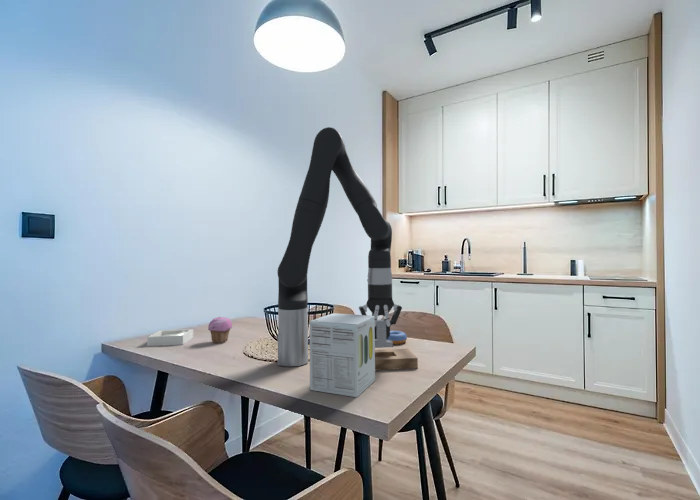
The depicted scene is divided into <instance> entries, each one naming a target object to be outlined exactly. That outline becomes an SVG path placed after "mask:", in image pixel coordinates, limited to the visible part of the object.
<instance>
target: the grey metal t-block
mask: <svg viewBox="0 0 700 500" xmlns="http://www.w3.org/2000/svg"><path fill="white" fill-rule="evenodd" d="M376 336H377V339H375V349H379V348H381V349H382V348H394V344H393V342H392V341H391V340H386V321H385V320H384V319H377V321H376Z"/></svg>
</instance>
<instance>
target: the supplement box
mask: <svg viewBox="0 0 700 500" xmlns="http://www.w3.org/2000/svg"><path fill="white" fill-rule="evenodd" d="M375 350H376V348H375V320H374V316H372V315H370V314H369V315H367V314H366V315H362V314H354V313H353V314H352V313H351V314H350V313H334V312H333V313H332V312H331V313H330V314H327V315H323V316H320V317H318V318H314V319H312V320H309V390H310V391H317V392H321V393H328V394H332V395H333V394H334V395H339V396H340V395H341V396H347V397H353V398H358V397H359V396H360V395H361V394H362V393H363V392H364V391H366V389H367V388H369V387H370V386H371V385H372V384H373V383H374V382H375V381H376V370H375Z"/></svg>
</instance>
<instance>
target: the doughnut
mask: <svg viewBox="0 0 700 500" xmlns="http://www.w3.org/2000/svg"><path fill="white" fill-rule="evenodd" d="M407 339H408V336H407V333H405V332H404V331H401V330H390V337H388V339H386V340H391V341H392V342H393V345H402V344H404V343H406V341H407Z"/></svg>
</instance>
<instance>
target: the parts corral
mask: <svg viewBox="0 0 700 500" xmlns="http://www.w3.org/2000/svg"><path fill="white" fill-rule="evenodd" d="M182 331H185V332H186V333H184V334H182V335H171V336H165V335H168V334H175V333H180V332H182ZM193 338H194V329H193V328H192V329H167V330H166V329H165V330H164V329H162V330H161V329H160V330H158V331H156V332H154V333H152V334H151V335H149V336H147V339H146V340H147V341H146V342H147V344H146V345H147V347H148V346H149V347H157V346H159V347H161V345H162V346H183V345H184V344H186V343H188V342H189V341H190V340H192V339H193Z"/></svg>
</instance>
